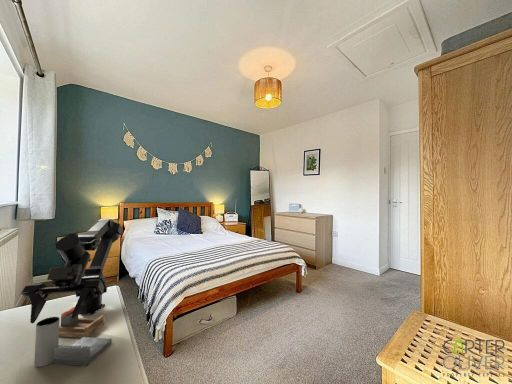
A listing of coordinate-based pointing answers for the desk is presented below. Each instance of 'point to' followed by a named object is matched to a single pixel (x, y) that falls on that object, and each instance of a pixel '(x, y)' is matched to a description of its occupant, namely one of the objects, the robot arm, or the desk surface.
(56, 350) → the press bed
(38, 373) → the desk surface
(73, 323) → the ram lever
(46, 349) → the planter
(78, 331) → the brown wooden tray
